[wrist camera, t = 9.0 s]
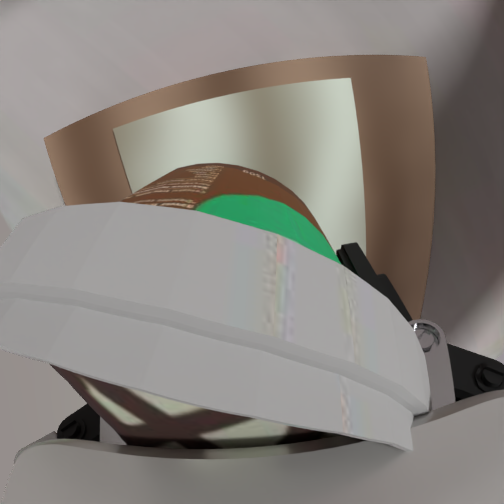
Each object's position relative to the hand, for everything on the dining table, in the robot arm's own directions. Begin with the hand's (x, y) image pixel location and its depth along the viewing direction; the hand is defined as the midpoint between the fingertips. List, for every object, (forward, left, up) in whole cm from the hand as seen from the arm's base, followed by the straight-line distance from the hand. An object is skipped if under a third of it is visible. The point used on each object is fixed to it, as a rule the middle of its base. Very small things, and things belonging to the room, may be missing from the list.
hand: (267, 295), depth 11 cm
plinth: (0, 0, -7) cm, 7 cm away
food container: (-1, 0, -3) cm, 3 cm away
